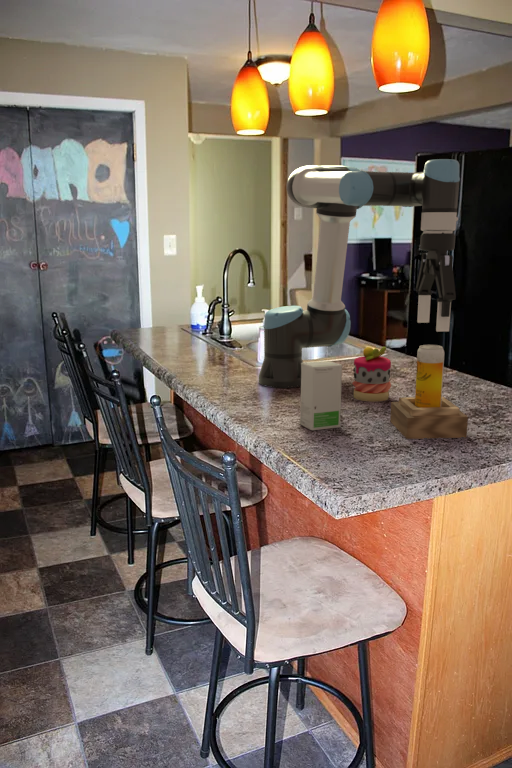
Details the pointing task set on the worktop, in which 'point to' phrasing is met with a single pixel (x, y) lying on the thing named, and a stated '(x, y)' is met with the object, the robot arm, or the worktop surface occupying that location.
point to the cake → (372, 376)
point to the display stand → (428, 420)
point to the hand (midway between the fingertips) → (432, 326)
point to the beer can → (429, 376)
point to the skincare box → (320, 395)
